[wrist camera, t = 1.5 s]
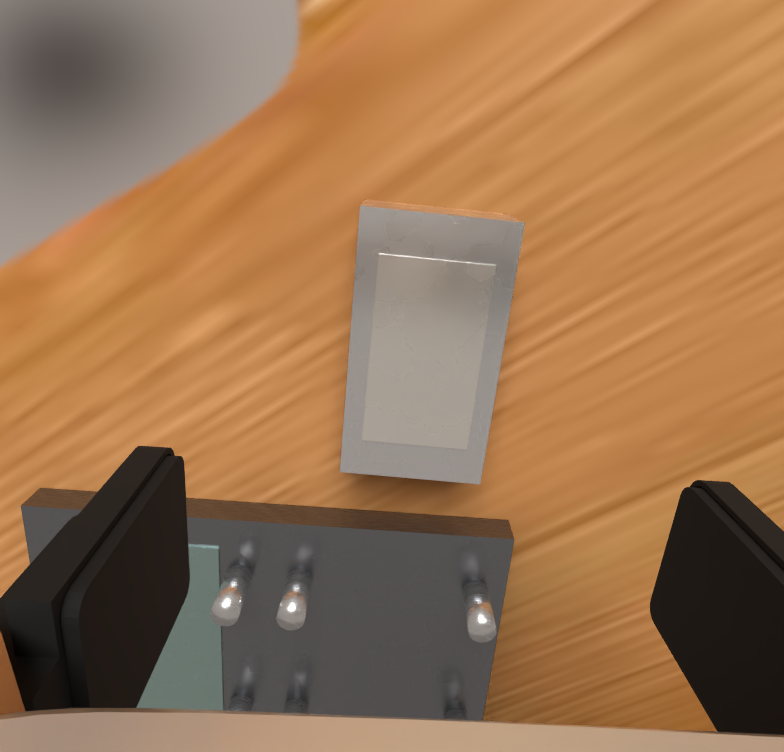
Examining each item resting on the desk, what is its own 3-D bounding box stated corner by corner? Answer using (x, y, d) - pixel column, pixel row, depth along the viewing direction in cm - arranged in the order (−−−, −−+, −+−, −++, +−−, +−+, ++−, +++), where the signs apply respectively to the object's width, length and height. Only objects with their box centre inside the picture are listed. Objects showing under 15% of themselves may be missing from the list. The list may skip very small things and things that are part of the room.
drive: (503, 213, 23) (525, 222, 19) (467, 438, 27) (480, 485, 23) (365, 198, 23) (360, 205, 19) (347, 427, 26) (339, 473, 23)
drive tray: (508, 520, 28) (526, 576, 24) (471, 734, 32) (481, 809, 29) (40, 488, 27) (-17, 540, 23) (73, 710, 32) (30, 783, 28)
